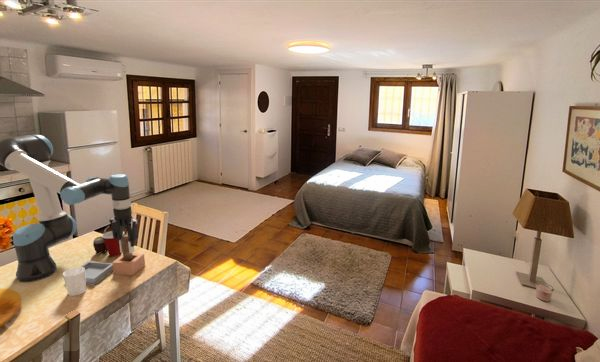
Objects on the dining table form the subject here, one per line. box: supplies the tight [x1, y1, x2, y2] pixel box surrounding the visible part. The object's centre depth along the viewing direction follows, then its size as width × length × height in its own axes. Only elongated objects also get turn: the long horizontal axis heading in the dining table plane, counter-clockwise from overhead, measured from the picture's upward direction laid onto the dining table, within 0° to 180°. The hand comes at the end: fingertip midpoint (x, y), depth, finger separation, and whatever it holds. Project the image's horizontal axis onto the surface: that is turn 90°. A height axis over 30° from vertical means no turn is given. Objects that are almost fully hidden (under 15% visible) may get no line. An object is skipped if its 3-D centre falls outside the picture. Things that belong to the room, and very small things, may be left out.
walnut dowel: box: [121, 233, 133, 262], centre depth 158 cm, size 4×4×16 cm
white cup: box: [62, 266, 87, 297], centre depth 140 cm, size 8×8×10 cm
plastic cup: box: [100, 230, 125, 257], centre depth 173 cm, size 11×11×12 cm
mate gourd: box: [92, 225, 110, 255], centre depth 174 cm, size 8×8×15 cm
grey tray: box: [79, 260, 114, 285], centre depth 154 cm, size 14×14×3 cm
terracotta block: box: [111, 252, 146, 276], centre depth 159 cm, size 10×10×6 cm
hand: (127, 251), depth 158 cm, fingers closed on walnut dowel, 4 cm apart
